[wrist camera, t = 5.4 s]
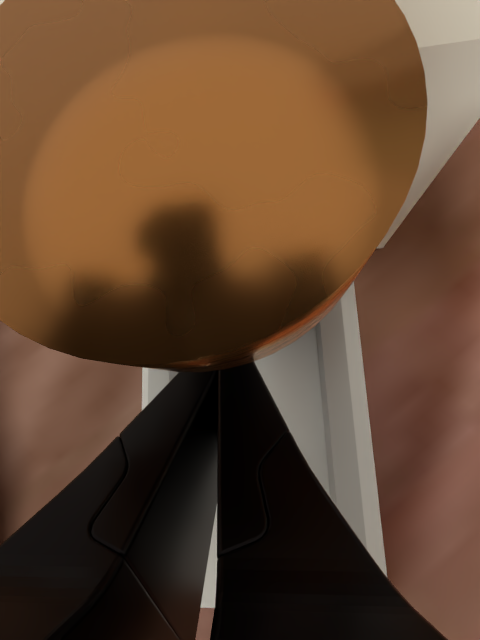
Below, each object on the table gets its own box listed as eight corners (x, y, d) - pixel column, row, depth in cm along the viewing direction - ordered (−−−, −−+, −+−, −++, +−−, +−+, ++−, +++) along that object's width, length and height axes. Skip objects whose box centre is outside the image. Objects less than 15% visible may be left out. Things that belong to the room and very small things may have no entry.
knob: (326, 376, 13) (474, 348, 3) (174, 383, 13) (-110, 377, 4) (312, 231, 14) (388, -127, 4) (173, 243, 15) (-42, -42, 5)
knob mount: (427, 581, 13) (852, 1144, 3) (113, 574, 15) (-226, 959, 5) (370, 155, 17) (493, -159, 7) (125, 183, 18) (-52, -48, 9)
